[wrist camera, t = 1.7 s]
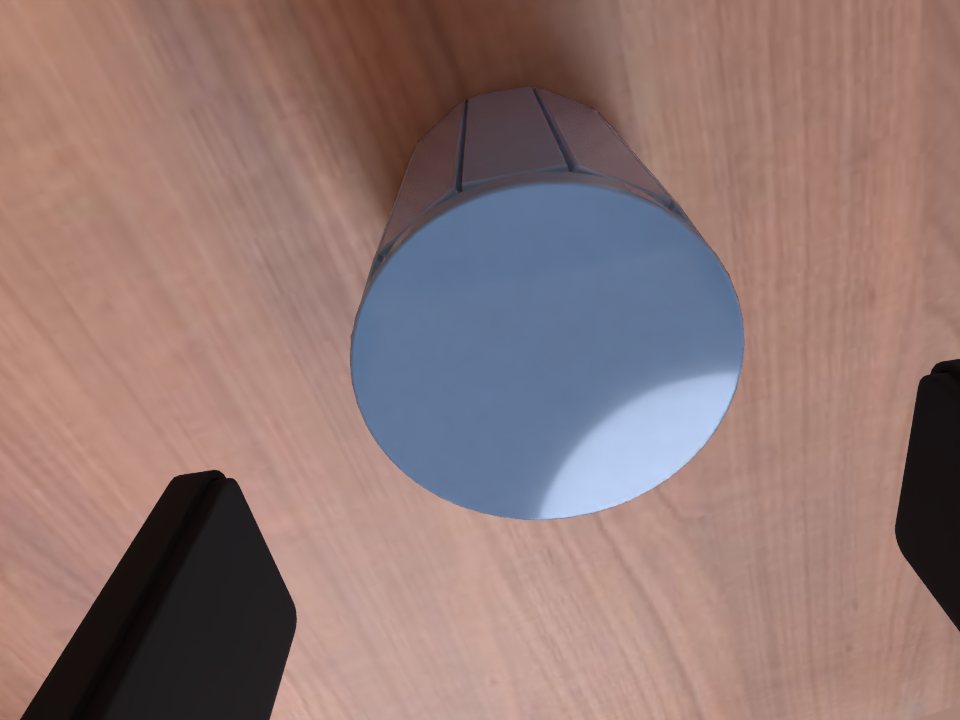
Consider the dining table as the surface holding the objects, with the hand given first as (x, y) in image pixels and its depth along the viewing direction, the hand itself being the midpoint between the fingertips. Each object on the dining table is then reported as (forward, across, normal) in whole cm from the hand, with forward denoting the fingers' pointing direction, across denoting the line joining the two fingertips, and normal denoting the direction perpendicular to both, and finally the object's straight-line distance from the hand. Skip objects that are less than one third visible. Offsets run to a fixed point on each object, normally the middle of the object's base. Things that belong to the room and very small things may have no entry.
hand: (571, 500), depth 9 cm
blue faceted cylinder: (+12, 0, -1) cm, 12 cm away
